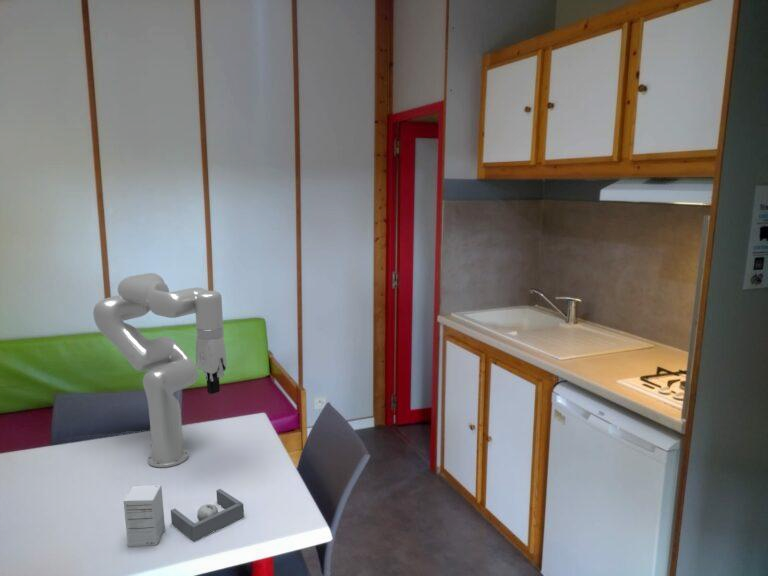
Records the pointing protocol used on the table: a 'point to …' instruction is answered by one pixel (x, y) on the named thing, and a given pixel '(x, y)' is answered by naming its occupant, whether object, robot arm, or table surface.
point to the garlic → (206, 511)
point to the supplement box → (144, 515)
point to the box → (212, 523)
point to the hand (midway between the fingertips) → (213, 392)
